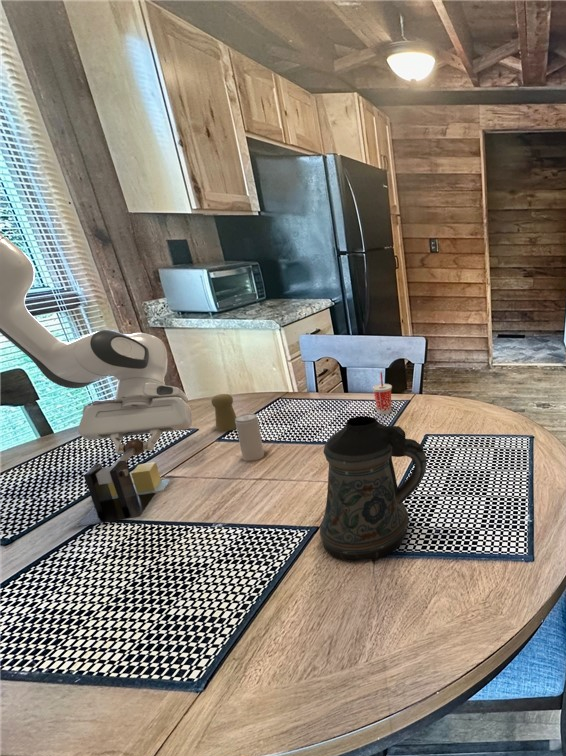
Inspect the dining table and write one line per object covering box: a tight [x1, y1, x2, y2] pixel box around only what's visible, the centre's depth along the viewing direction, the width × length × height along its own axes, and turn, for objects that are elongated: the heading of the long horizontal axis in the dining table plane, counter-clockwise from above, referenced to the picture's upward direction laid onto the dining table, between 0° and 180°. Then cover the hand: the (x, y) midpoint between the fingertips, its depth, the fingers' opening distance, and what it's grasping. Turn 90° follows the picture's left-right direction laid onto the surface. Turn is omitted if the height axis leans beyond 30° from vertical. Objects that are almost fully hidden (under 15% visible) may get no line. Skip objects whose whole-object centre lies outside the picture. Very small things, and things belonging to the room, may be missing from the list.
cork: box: [210, 393, 238, 432], centre depth 123 cm, size 6×6×11 cm
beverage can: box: [235, 413, 265, 462], centre depth 107 cm, size 5×5×12 cm
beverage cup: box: [372, 371, 393, 415], centre depth 138 cm, size 6×6×14 cm
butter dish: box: [112, 478, 171, 499], centre depth 93 cm, size 12×5×1 cm, turn 112°
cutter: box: [76, 460, 158, 528], centre depth 85 cm, size 9×10×11 cm
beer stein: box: [319, 415, 428, 562], centre depth 79 cm, size 16×19×25 cm
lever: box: [96, 438, 145, 485], centre depth 90 cm, size 16×4×4 cm, turn 22°
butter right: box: [130, 461, 162, 493], centre depth 93 cm, size 3×4×5 cm
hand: (134, 451), depth 95 cm, fingers closed on lever, 3 cm apart
